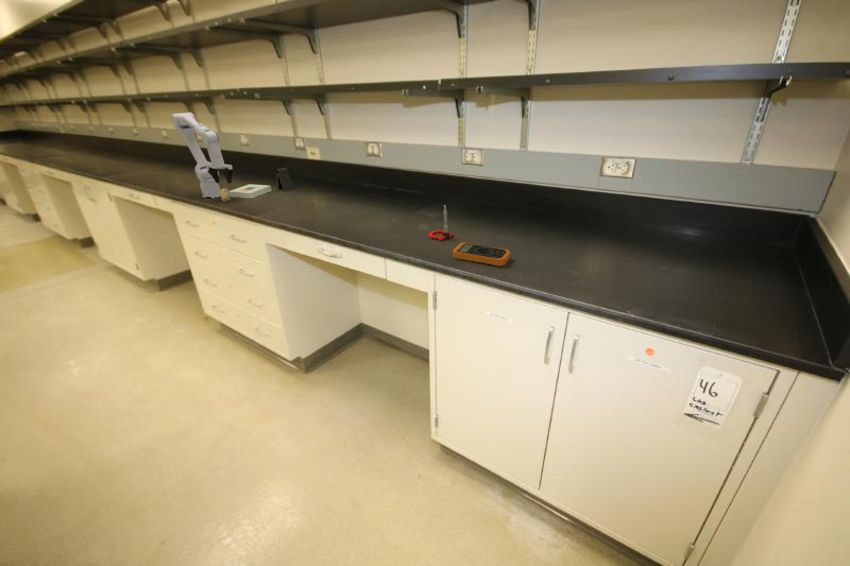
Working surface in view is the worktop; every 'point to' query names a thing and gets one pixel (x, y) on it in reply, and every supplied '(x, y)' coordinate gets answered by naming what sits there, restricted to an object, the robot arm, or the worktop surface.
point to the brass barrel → (224, 194)
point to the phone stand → (283, 180)
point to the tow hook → (445, 232)
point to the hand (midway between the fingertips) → (224, 182)
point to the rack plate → (250, 191)
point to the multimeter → (481, 254)
